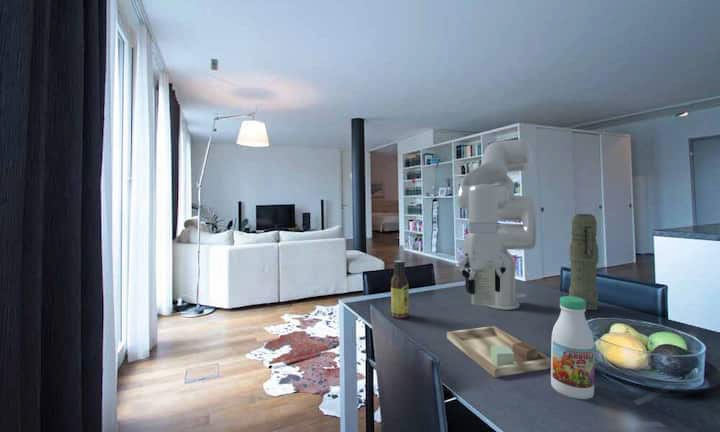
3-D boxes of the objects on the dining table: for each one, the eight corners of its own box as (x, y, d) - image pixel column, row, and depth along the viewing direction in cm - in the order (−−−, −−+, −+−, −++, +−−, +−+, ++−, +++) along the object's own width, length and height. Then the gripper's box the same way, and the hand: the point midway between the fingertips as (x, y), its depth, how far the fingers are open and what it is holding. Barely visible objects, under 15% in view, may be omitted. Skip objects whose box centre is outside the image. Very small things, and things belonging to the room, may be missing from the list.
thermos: (587, 302, 127) (588, 213, 125) (605, 312, 115) (606, 214, 113) (562, 301, 128) (563, 213, 126) (578, 312, 116) (579, 215, 115)
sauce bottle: (408, 319, 112) (407, 263, 111) (390, 318, 113) (389, 262, 113) (409, 313, 119) (408, 259, 118) (392, 312, 120) (391, 259, 119)
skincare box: (494, 302, 92) (494, 259, 91) (495, 306, 87) (495, 262, 87) (470, 300, 94) (471, 258, 93) (470, 304, 89) (471, 261, 89)
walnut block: (523, 356, 83) (523, 341, 83) (537, 363, 79) (537, 348, 79) (512, 360, 81) (512, 344, 81) (526, 367, 78) (526, 351, 77)
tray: (494, 333, 99) (494, 325, 99) (553, 369, 77) (553, 359, 77) (447, 340, 95) (446, 331, 95) (494, 379, 74) (494, 369, 74)
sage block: (506, 361, 81) (506, 345, 80) (514, 369, 77) (514, 353, 76) (490, 361, 81) (490, 346, 81) (497, 370, 77) (497, 353, 77)
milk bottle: (543, 382, 72) (543, 294, 72) (575, 379, 73) (576, 292, 72) (568, 403, 65) (568, 305, 64) (603, 400, 65) (605, 303, 65)
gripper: (501, 226, 95) (501, 286, 96) (447, 229, 91) (448, 290, 92) (519, 228, 88) (519, 292, 89) (462, 231, 84) (462, 298, 85)
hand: (483, 291), depth 90 cm, fingers closed on skincare box, 7 cm apart
